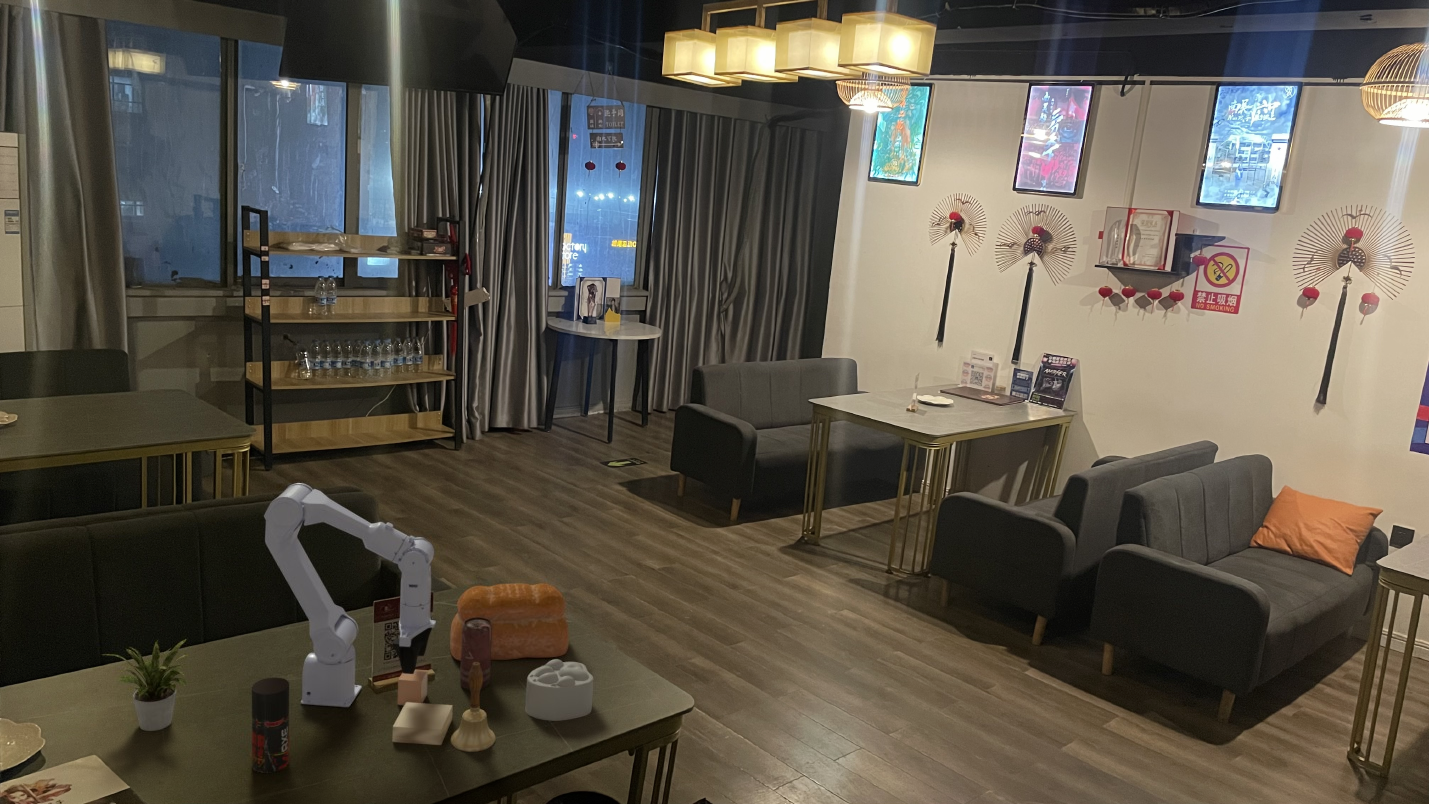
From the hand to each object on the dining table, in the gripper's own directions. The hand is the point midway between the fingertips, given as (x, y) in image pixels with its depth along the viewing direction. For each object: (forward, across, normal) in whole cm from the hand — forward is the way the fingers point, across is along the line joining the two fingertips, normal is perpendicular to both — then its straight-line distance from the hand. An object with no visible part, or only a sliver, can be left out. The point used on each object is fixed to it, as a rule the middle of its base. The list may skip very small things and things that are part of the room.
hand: (413, 663), depth 198 cm
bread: (+8, +25, -15) cm, 30 cm away
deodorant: (+8, -25, +18) cm, 32 cm away
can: (+8, +8, -11) cm, 16 cm away
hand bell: (+8, -13, -15) cm, 21 cm away
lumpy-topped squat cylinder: (+8, +1, -29) cm, 30 cm away
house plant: (+8, -16, +44) cm, 48 cm away
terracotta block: (+8, 0, 0) cm, 8 cm away
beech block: (+8, -11, -5) cm, 15 cm away
